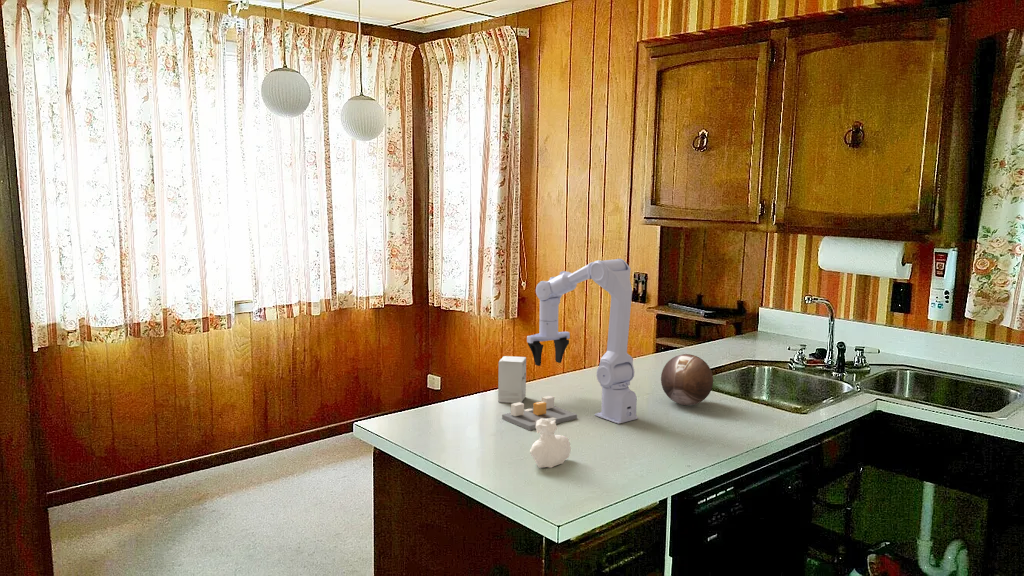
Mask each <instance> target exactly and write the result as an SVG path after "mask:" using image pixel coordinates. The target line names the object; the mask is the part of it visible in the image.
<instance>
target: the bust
mask: <svg viewBox="0 0 1024 576" xmlns="http://www.w3.org/2000/svg"><path fill="white" fill-rule="evenodd" d="M555 422H556V420H553V421H552V420H549V418H548V419H543V418H541V419H539V420H537V421H536V427H535V428H536V429H535V430H536V434H539V433H540V434H539V435H540V436H539V438H538V439H537V440H535V441H534V443H532V445H531V447H530V450H529V454H530V455H531V457H532V459H533V460H534V461H535V463H536V466H537V467H538V468H541V469H542V468H550V469H551V468H553V467H556V466H558V465H563V464H564V463H565V461H566V460H567V459H569V457H570V454H571V449H572V448H571V443H570V441H569V438H568V437H567V436H565V435H561V434H555V433H556V430H558V426H557V424H556V423H555Z"/></svg>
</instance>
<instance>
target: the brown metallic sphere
mask: <svg viewBox="0 0 1024 576" xmlns="http://www.w3.org/2000/svg"><path fill="white" fill-rule="evenodd" d="M660 383H661V387H662V390H663V392H664V393H665V395H666V396H667V398H669V399H670V400H671V401H673V402H674V403H676V404H679V405H681V406H682V405H683V406H694V405H697V404H700V403H701V402H703V401H705V399H707V398H708V397H709V395H710V393H711V391H712V390H713V386H714V375H713V372H712V370H711V367H710V365H708V363H707V362H706V361H705V360H703V359H702V358H701V357H700V356H697V355H695V354H687V353H685V354H678V355H675V356H674V357H672V358H671V359H669V360H668V361H667V362H666V363H665V365H664V366H663V368H662V371H661V375H660Z"/></svg>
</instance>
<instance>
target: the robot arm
mask: <svg viewBox="0 0 1024 576" xmlns="http://www.w3.org/2000/svg"><path fill="white" fill-rule="evenodd" d="M631 270H632V269H631V267H630V265H629V264H628V263H627V262H626V261H625V260H624V259H622V258H616V259H605V260H599V259H598V260H595V261H591V262H589V263H588V264H586V265H584V266H583V267H580V268H578V269H577V270H575V271H573V272H570V271H566V270H562V271H559V274H558V275H557V276H551V277H549V279H548V280H541V281H539V282H538V283H537V285H536V287H535V294H536V297H537V298H538V300H539V322H538V324H539V325H538V326H539V328H538V329H539V333H535V334H531V335H527V336H526V343H527V345H528V347H529V349H530V351H531V354H532V356H533V360H534V365H535V366H537V367H540V366H542V354H543V350H544V349H543V348H544V344H542V343H541V342H548V341H553V344H554V349H555V350H554V351H555V352H554V354H555V355H554V358H555V359H554V360H555V362H556V363H559V364H562V360H563V357H564V354H565V351H566V349H567V347H568V346H569V344H570V340H569V339H570V336H571V335H570V333H571V332H570V331H559V307H560V303H561V298H562V297H563V295H565V294H567V293H569V292H572V291H574V290H575V289H576V288H577V285H578V284H579V283H582V282H584V281H587V280H592V281H593V282H594V283H595V284H597V285H598V286H600V287H601V288H602V290H604V291H606V292H607V293H608V294H609V295H610V305H609V306H610V308H609V319H608V330H607V331H608V332H607V343H606V352H605V353H604V354H603V355H602V356H601V358H600V360H599V361H600V362H599V365H598V367H597V369H596V379H597V382H598V383H599V385H600V387H601V411H600V412H596V413H594V416H595V417H598V418H601V419H604V420H607V421H610V422H612V423H615V424H619V425H620V424H623V423H627V422H631V421H634V420H637V419H639V416H637V404H638V403H637V401H638V400H637V399H638V398H637V394H636V392H635V391H633V390H632V389H631V388H630V387H629V386H630V385H631V381H633V379H634V377H635V369H634V362H633V361H634V358H633V357H632V356H631V355H630V354H629V353H628V343H629V331H630V330H629V329H630V319H631V309H632V298H633V288H632V283H631Z"/></svg>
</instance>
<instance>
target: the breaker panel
mask: <svg viewBox="0 0 1024 576" xmlns="http://www.w3.org/2000/svg"><path fill="white" fill-rule="evenodd" d="M541 401H542V402H545V403H546V414H542V415H535V414H533V407H529V408H527V409H525V403H523V402H522V403H521V402H518V403H510V412H508V413H503V414H502V415H501V419H502V420H504V421H507V422H508V421H509V423H511V424H514V425H516V426H518V427H520V428H523V429H525V430H528V431H532V430H536V428H535V427H536V421H537V420H539V419H541V418H543V419H548V418H549V420H552V421H553V420H556V422H555V423H556V425H557V424H560V423H565V422H568V421H573V420H576V419H578V414H577V413H575V412H572V411H570V410H566V409H563V408H561V407H559V406H555V397H554V396H552V395H546V396H541Z"/></svg>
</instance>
